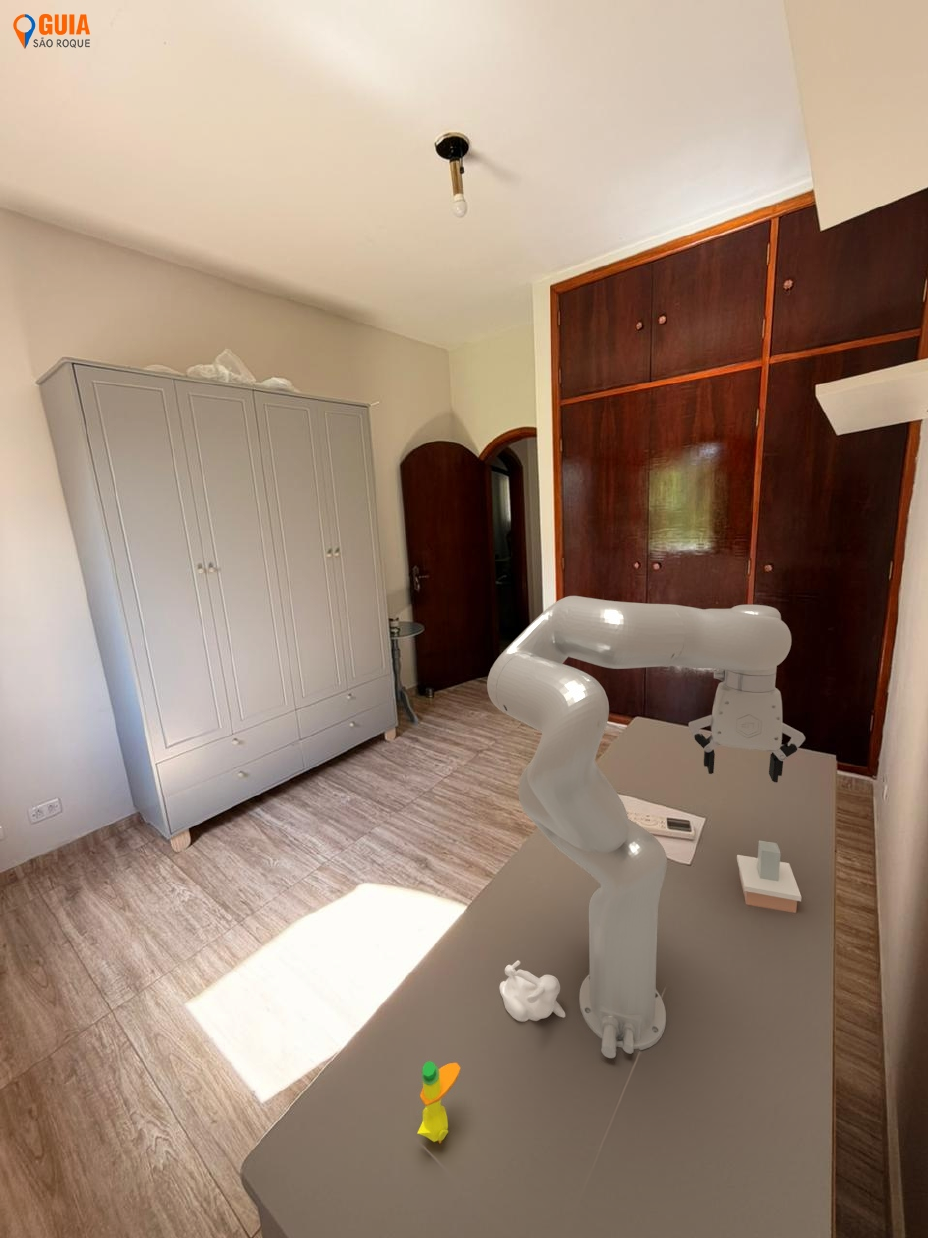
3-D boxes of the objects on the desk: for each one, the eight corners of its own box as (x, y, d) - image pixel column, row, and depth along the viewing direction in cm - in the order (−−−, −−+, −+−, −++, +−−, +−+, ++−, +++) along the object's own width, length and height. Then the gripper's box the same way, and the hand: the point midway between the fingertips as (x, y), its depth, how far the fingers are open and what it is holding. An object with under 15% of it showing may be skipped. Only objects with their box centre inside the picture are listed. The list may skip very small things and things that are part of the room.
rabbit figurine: (577, 1021, 76) (576, 968, 74) (554, 1066, 70) (553, 1010, 68) (510, 980, 83) (508, 931, 81) (484, 1017, 77) (481, 966, 75)
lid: (800, 901, 89) (804, 867, 88) (744, 890, 93) (746, 858, 91) (788, 867, 98) (791, 836, 96) (736, 859, 101) (738, 828, 99)
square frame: (795, 919, 91) (797, 898, 90) (745, 910, 94) (747, 889, 93) (784, 888, 98) (786, 868, 97) (738, 880, 101) (740, 861, 100)
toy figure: (454, 1104, 66) (448, 1032, 63) (471, 1129, 63) (466, 1054, 61) (411, 1147, 62) (403, 1071, 59) (428, 1175, 59) (421, 1097, 56)
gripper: (693, 682, 82) (687, 777, 86) (817, 691, 76) (806, 793, 80) (690, 669, 89) (685, 758, 92) (803, 676, 83) (793, 771, 86)
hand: (740, 774), depth 86 cm, fingers open, 9 cm apart
